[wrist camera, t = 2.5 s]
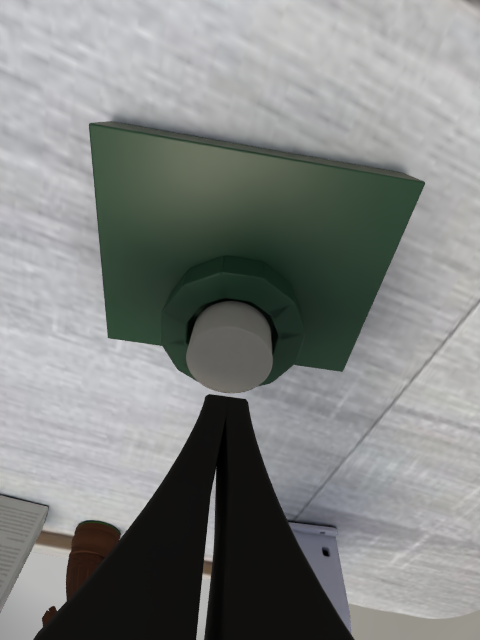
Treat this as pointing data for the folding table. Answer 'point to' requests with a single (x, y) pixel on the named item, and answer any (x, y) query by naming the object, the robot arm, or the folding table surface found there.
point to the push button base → (241, 240)
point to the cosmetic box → (17, 539)
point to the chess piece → (86, 555)
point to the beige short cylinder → (230, 348)
